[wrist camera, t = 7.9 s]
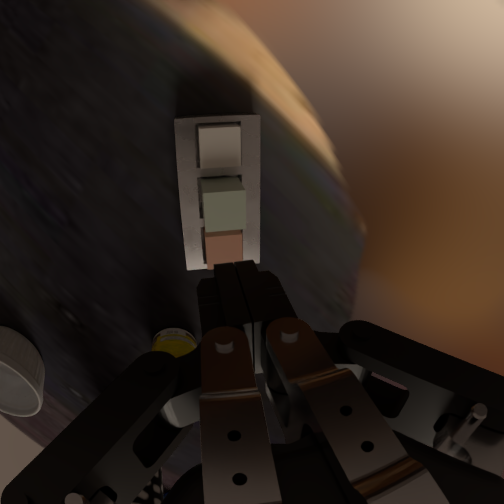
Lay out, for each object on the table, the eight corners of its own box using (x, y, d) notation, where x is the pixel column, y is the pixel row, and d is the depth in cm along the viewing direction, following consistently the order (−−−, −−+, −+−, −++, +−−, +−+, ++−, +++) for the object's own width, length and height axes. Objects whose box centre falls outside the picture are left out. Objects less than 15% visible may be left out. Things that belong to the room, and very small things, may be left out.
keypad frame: (186, 255, 33) (187, 270, 30) (175, 116, 26) (174, 119, 24) (253, 248, 34) (259, 262, 32) (253, 112, 28) (260, 114, 25)
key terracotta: (204, 249, 33) (207, 269, 29) (202, 219, 31) (205, 237, 28) (236, 246, 33) (242, 266, 30) (235, 216, 32) (242, 234, 28)
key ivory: (198, 158, 28) (200, 168, 25) (197, 124, 27) (198, 128, 23) (233, 156, 29) (241, 166, 25) (233, 122, 27) (240, 126, 24)
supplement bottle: (150, 325, 36) (146, 393, 28) (196, 325, 38) (203, 392, 29) (154, 357, 39) (152, 422, 30) (196, 357, 40) (203, 421, 31)
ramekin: (48, 330, 34) (33, 370, 28) (55, 391, 39) (47, 426, 33) (-32, 306, 30) (-53, 339, 24) (-15, 369, 35) (-28, 401, 29)
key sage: (202, 213, 29) (205, 232, 25) (200, 179, 27) (203, 193, 24) (238, 210, 29) (246, 228, 26) (237, 176, 28) (245, 190, 24)
